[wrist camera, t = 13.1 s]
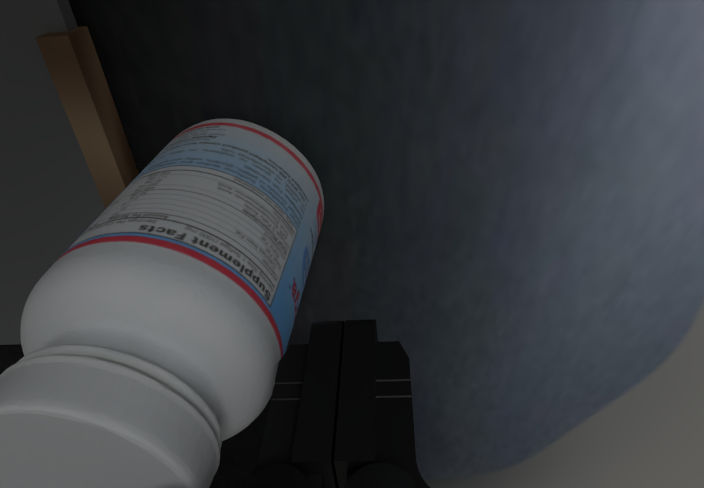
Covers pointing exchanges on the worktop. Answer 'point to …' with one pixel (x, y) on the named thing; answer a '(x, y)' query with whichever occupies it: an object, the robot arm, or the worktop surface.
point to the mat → (35, 160)
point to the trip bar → (90, 109)
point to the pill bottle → (164, 318)
